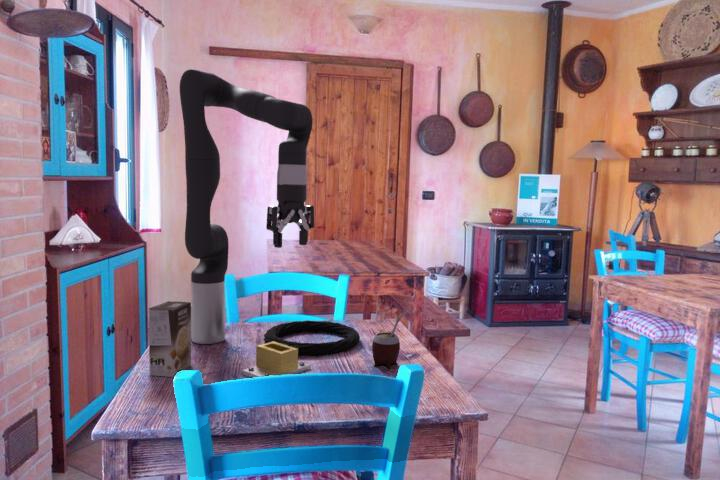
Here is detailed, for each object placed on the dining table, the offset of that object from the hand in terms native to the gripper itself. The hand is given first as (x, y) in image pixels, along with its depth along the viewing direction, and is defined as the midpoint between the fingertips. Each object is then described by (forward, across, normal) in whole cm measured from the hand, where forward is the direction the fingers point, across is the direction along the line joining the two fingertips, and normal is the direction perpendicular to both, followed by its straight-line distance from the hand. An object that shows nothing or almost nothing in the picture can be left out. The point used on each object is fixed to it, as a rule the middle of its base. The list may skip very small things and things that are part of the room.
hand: (290, 246), depth 143 cm
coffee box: (+30, +26, -13) cm, 42 cm away
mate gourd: (+29, -13, +23) cm, 39 cm away
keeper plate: (+29, +9, +6) cm, 31 cm away
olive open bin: (+28, +9, +6) cm, 30 cm away
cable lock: (+30, -13, -5) cm, 33 cm away
